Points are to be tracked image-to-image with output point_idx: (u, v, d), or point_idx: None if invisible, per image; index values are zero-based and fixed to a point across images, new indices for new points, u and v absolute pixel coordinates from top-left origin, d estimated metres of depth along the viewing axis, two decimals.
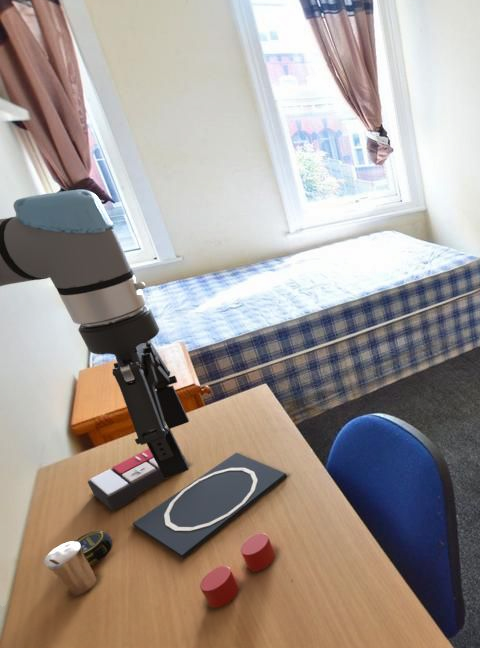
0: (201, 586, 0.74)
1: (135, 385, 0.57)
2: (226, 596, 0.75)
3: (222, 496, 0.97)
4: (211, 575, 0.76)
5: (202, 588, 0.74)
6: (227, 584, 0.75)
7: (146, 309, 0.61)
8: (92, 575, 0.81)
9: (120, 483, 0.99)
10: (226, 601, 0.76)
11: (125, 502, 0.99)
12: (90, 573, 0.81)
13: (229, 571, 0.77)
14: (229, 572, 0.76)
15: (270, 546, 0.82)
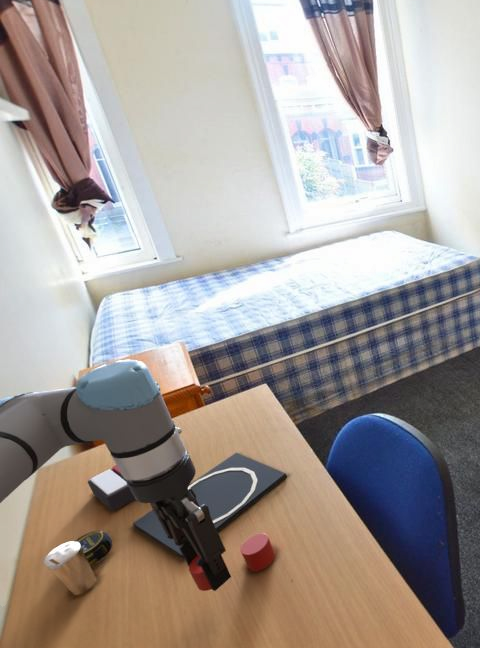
0: (190, 569, 0.73)
1: (204, 522, 0.67)
2: None
3: (222, 496, 0.97)
4: None
5: (191, 571, 0.72)
6: None
7: None
8: (92, 575, 0.81)
9: (120, 483, 0.99)
10: None
11: (125, 502, 0.99)
12: (90, 573, 0.81)
13: None
14: None
15: (270, 546, 0.82)
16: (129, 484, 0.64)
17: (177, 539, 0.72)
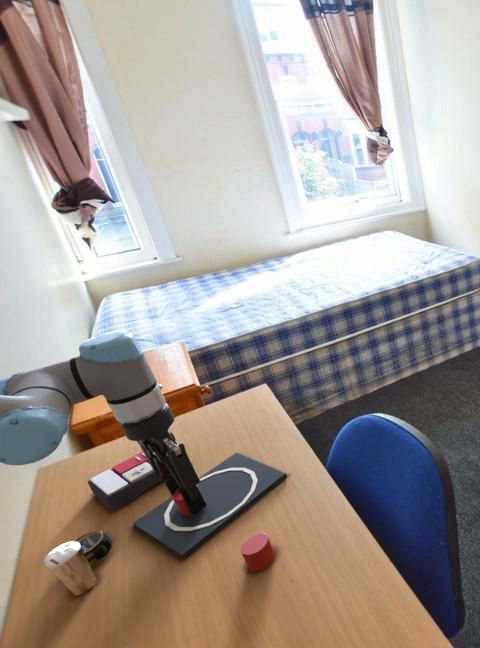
0: (173, 497, 0.92)
1: (181, 457, 0.87)
2: None
3: (222, 496, 0.97)
4: None
5: (174, 498, 0.92)
6: None
7: None
8: (92, 575, 0.81)
9: (120, 483, 0.99)
10: None
11: (125, 502, 0.99)
12: (90, 573, 0.81)
13: None
14: None
15: (270, 546, 0.82)
16: (122, 426, 0.83)
17: (162, 474, 0.92)
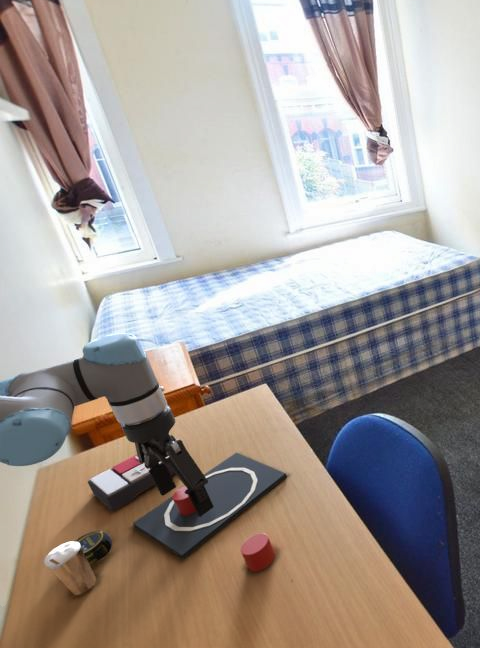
0: (173, 497, 0.92)
1: (182, 454, 0.86)
2: None
3: (222, 496, 0.97)
4: (182, 490, 0.94)
5: (174, 498, 0.92)
6: None
7: None
8: (92, 575, 0.81)
9: (120, 483, 0.99)
10: (193, 510, 0.93)
11: (125, 502, 0.99)
12: (90, 573, 0.81)
13: None
14: None
15: (270, 546, 0.82)
16: (123, 428, 0.83)
17: (148, 465, 0.93)
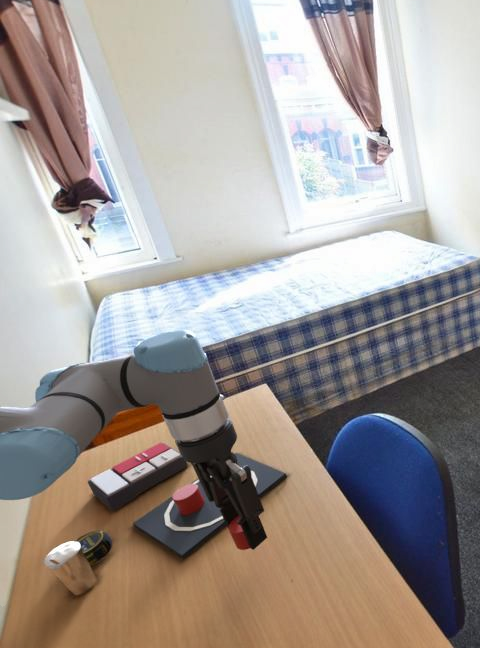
0: (173, 497, 0.92)
1: (246, 482, 0.72)
2: (193, 506, 0.93)
3: None
4: (182, 490, 0.94)
5: (174, 498, 0.92)
6: (195, 497, 0.93)
7: None
8: (92, 575, 0.81)
9: (120, 483, 0.99)
10: (193, 510, 0.93)
11: (125, 502, 0.99)
12: (90, 573, 0.81)
13: (196, 487, 0.94)
14: (196, 487, 0.94)
15: None
16: (179, 445, 0.69)
17: (218, 501, 0.78)
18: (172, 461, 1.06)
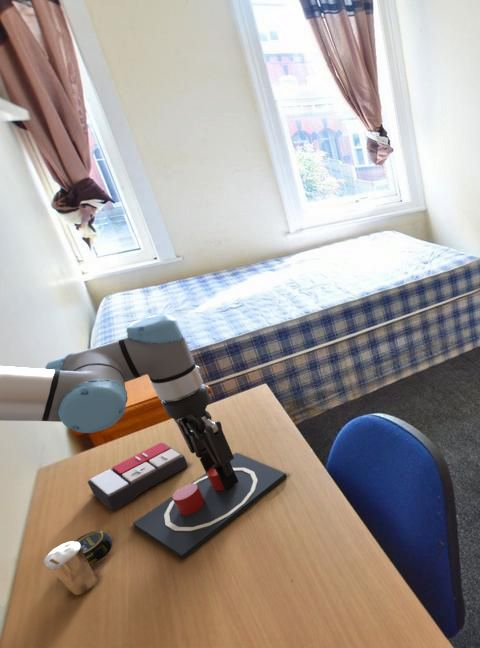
0: (173, 497, 0.92)
1: (218, 434, 0.92)
2: (193, 506, 0.93)
3: (222, 496, 0.97)
4: (182, 490, 0.94)
5: (174, 498, 0.92)
6: (195, 497, 0.93)
7: None
8: (92, 575, 0.81)
9: (120, 483, 0.99)
10: (193, 510, 0.93)
11: (125, 502, 0.99)
12: (90, 573, 0.81)
13: (196, 487, 0.94)
14: (196, 487, 0.94)
15: None
16: (164, 404, 0.89)
17: (198, 452, 0.98)
18: (172, 461, 1.06)
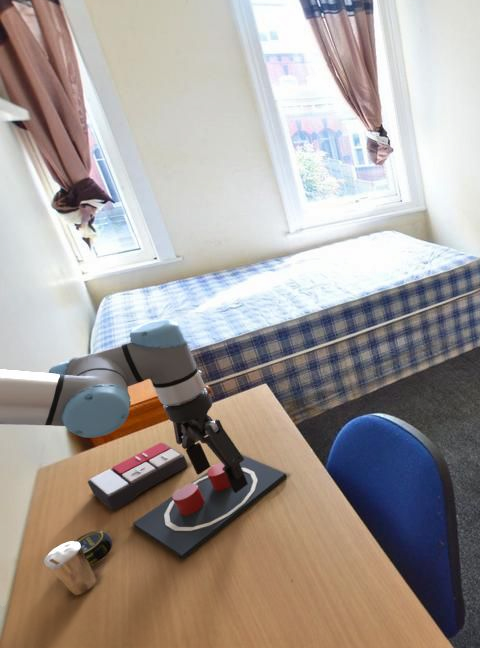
0: (173, 497, 0.92)
1: (220, 433, 0.91)
2: (193, 506, 0.93)
3: (222, 496, 0.97)
4: (182, 490, 0.94)
5: (174, 498, 0.92)
6: (195, 497, 0.93)
7: None
8: (92, 575, 0.81)
9: (120, 483, 0.99)
10: (193, 510, 0.93)
11: (125, 502, 0.99)
12: (90, 573, 0.81)
13: (196, 487, 0.94)
14: (196, 487, 0.94)
15: None
16: (166, 408, 0.89)
17: (186, 445, 0.99)
18: (172, 461, 1.06)
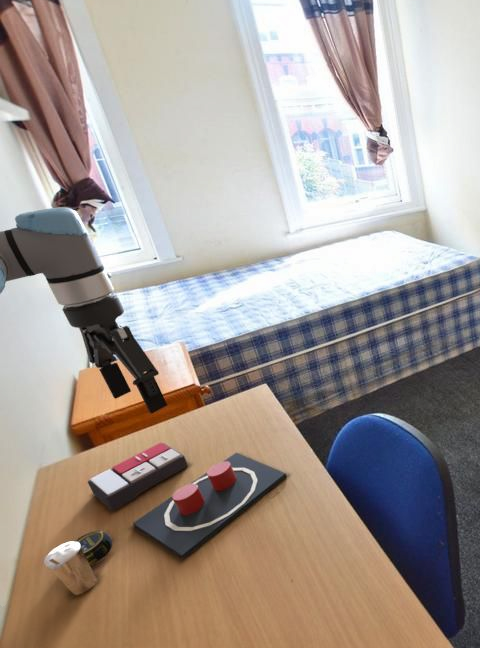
0: (173, 497, 0.92)
1: (129, 341, 0.80)
2: (193, 506, 0.93)
3: (222, 496, 0.97)
4: (182, 490, 0.94)
5: (174, 498, 0.92)
6: (195, 497, 0.93)
7: (112, 293, 0.83)
8: (92, 575, 0.81)
9: (120, 483, 0.99)
10: (193, 510, 0.93)
11: (125, 502, 0.99)
12: (90, 573, 0.81)
13: (196, 487, 0.94)
14: (196, 487, 0.94)
15: (232, 471, 1.00)
16: (64, 310, 0.78)
17: (99, 363, 0.88)
18: (172, 461, 1.06)
